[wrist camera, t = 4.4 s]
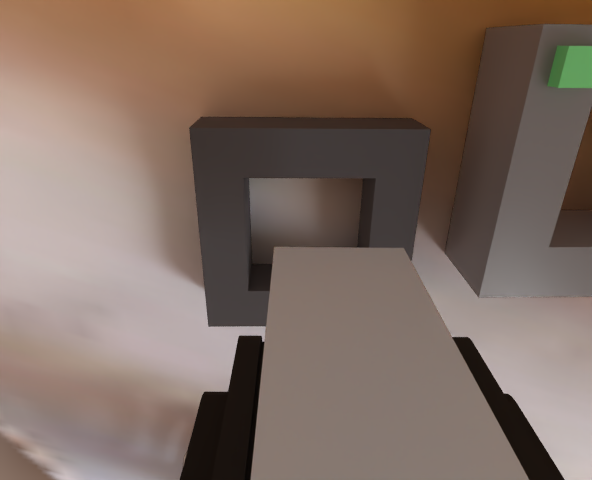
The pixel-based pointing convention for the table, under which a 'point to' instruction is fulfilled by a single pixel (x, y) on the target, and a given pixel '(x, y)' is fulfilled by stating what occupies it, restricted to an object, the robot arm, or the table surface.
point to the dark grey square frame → (296, 164)
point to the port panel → (525, 166)
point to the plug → (367, 377)
